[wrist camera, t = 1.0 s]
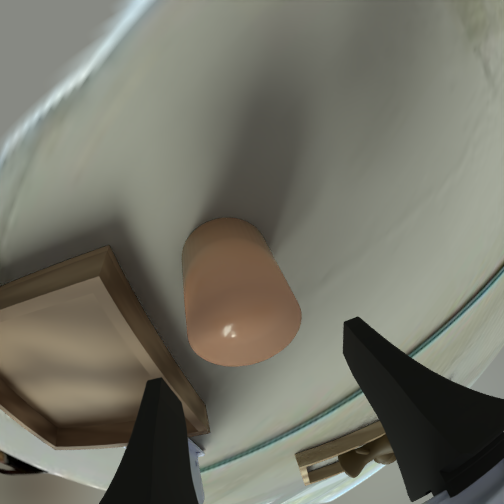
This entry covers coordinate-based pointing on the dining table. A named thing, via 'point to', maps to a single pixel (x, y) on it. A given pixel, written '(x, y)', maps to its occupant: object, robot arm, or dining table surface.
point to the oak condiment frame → (335, 452)
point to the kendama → (367, 456)
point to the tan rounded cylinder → (235, 295)
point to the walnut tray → (83, 356)
